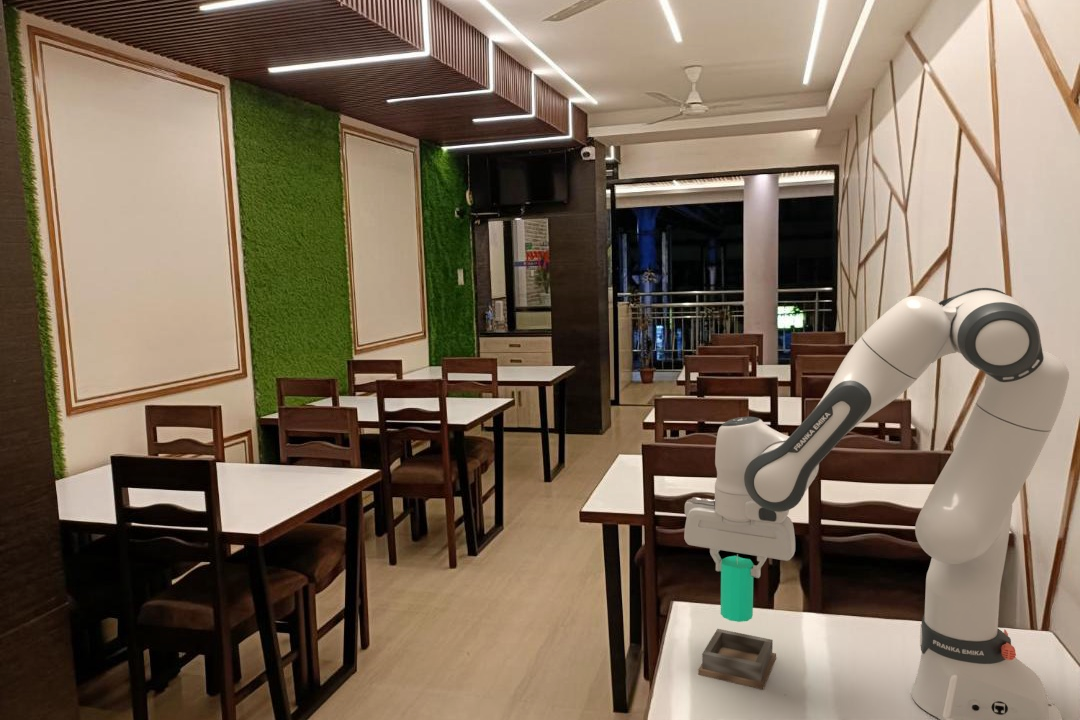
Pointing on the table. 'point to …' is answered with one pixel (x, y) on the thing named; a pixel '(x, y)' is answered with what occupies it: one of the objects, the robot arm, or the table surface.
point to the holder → (738, 658)
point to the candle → (736, 589)
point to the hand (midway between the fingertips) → (737, 573)
